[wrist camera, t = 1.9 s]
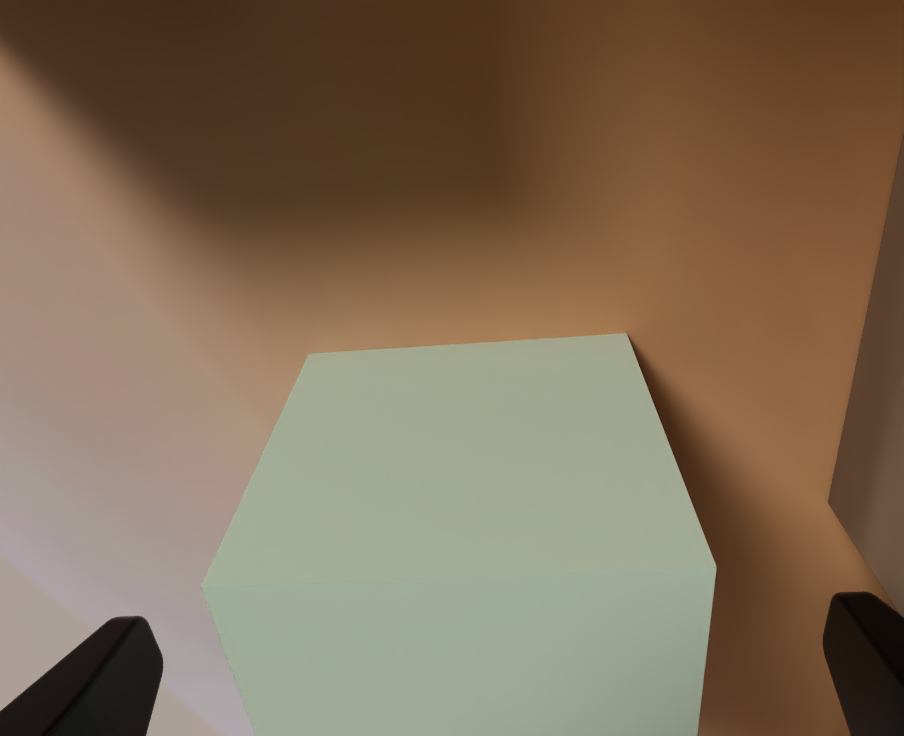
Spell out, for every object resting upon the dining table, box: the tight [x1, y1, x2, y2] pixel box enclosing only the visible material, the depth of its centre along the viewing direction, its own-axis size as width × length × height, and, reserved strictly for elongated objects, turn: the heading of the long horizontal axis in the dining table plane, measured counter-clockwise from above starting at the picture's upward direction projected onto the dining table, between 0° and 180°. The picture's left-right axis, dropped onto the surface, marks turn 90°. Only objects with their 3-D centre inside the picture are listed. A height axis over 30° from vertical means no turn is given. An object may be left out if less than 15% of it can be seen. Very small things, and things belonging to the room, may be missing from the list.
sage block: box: [201, 333, 717, 736], centre depth 10 cm, size 5×5×5 cm
